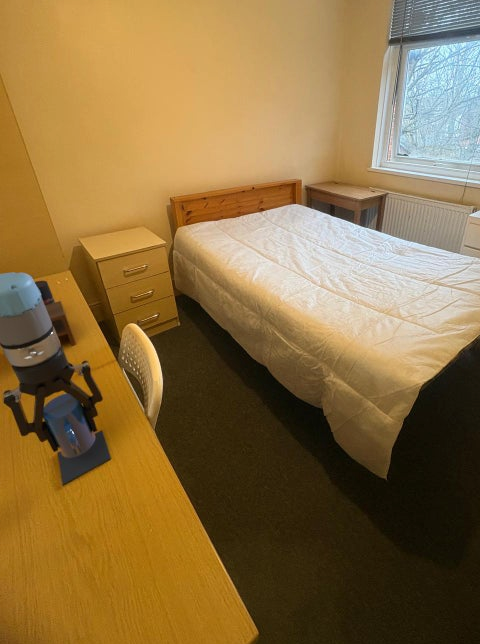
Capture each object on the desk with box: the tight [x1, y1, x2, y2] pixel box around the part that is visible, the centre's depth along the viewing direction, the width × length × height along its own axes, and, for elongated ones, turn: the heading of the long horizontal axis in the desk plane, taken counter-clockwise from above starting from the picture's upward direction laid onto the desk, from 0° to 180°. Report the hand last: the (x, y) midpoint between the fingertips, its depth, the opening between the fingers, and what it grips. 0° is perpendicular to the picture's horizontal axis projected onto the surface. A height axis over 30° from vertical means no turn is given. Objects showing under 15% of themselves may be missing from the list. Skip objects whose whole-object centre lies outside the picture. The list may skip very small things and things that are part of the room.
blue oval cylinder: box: [43, 393, 96, 458], centre depth 66 cm, size 9×6×12 cm
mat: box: [57, 430, 112, 486], centre depth 72 cm, size 9×9×1 cm
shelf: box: [45, 300, 77, 347], centre depth 103 cm, size 10×10×12 cm
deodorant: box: [34, 280, 56, 305], centre depth 113 cm, size 6×6×15 cm
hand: (75, 436), depth 69 cm, fingers closed on blue oval cylinder, 6 cm apart
